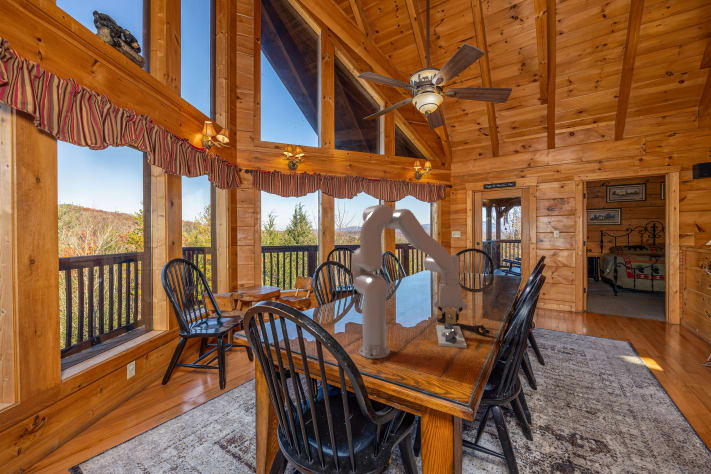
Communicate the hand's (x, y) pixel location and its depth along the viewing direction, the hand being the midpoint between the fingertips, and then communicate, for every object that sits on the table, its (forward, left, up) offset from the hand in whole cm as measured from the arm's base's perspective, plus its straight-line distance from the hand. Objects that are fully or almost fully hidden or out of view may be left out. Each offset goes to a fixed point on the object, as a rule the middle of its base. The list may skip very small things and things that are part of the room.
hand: (450, 320), depth 132 cm
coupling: (0, 0, -1) cm, 1 cm away
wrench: (+14, -7, -8) cm, 18 cm away
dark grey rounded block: (-8, 0, -6) cm, 11 cm away
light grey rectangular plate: (+1, 0, -8) cm, 8 cm away
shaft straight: (+9, 0, -6) cm, 11 cm away
